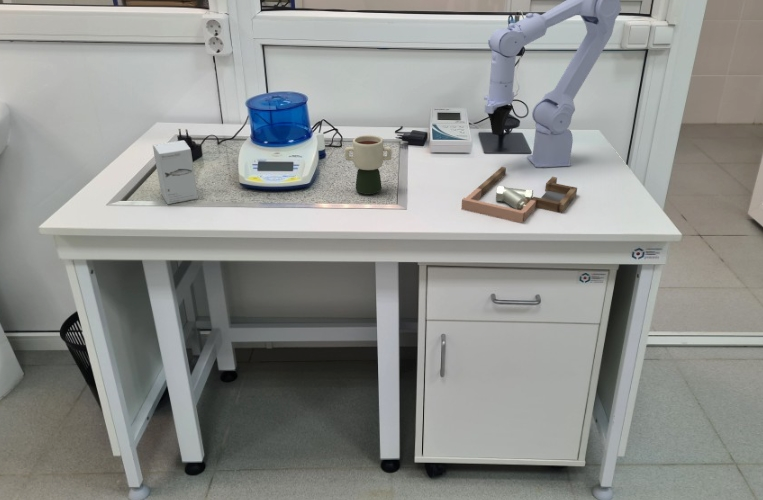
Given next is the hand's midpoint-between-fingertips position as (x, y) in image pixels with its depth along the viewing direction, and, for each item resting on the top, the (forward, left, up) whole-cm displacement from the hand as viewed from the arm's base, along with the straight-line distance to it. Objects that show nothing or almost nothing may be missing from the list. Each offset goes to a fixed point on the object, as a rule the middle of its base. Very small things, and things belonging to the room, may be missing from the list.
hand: (496, 134), depth 162 cm
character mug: (+34, +11, -10) cm, 37 cm away
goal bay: (+5, +24, -9) cm, 26 cm away
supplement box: (+79, +9, -10) cm, 80 cm away
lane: (-4, +16, -9) cm, 19 cm away
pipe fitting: (+2, +23, -10) cm, 25 cm away
